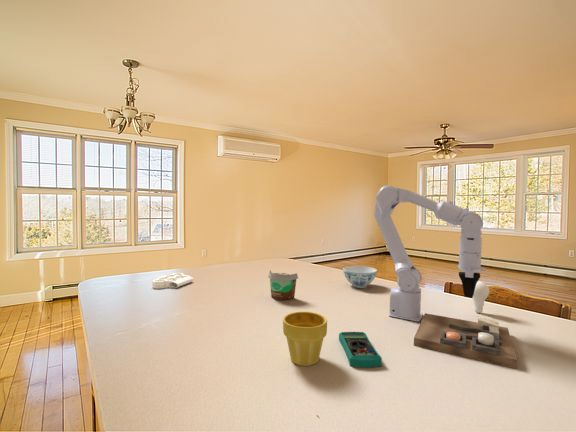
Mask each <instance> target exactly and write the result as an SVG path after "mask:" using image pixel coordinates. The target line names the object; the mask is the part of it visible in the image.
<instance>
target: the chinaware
mask: <svg viewBox="0 0 576 432" xmlns="http://www.w3.org/2000/svg"><path fill="white" fill-rule="evenodd" d="M342 271H343V275H344V277H345V279H346V280H347V281H348V282H349V283H350V284H351V286H352V287H353V288H357V289H362V288H363V289H365V288H367V287H368V285H370V284H371V283H372V282H373V281H374V279H375V278H376V275H377V272H378V270H377V268H374V267H369V266H363V265H350V266H345V267H343V268H342Z"/></svg>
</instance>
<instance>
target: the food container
mask: <svg viewBox="0 0 576 432" xmlns="http://www.w3.org/2000/svg"><path fill="white" fill-rule="evenodd" d="M268 272H269V273H268V276H267V277H268V279H269V285H270V295H271V297H270V298H272V299H273V300H275V301H290V300H293V299H295V294H296V286H297V279H299V276H298V273H297V272H296V273H291V274H288V273H285V272H272V270H269V271H268Z"/></svg>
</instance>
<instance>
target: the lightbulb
mask: <svg viewBox="0 0 576 432" xmlns="http://www.w3.org/2000/svg"><path fill="white" fill-rule="evenodd" d="M489 295H490V287H489V286H488V285H487V284H486V283H485V282H484V281H480V280H478V282H477V284H476V286H475V291H474V295H473V297H472V305H473V311H474V312H475V313H477V314H480V313H482V312H483V309H484V306H485V301H486V299H487V298H488V297H489Z"/></svg>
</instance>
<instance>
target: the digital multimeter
mask: <svg viewBox="0 0 576 432" xmlns="http://www.w3.org/2000/svg"><path fill="white" fill-rule="evenodd" d="M338 341H339V343H340V344H341V346H342V349H343V351H344V354H345V356H346V358H347V361H348V363H349V366H350V367H353V368H364V369H365V368H379V367H382V361H383V360H382V359H383V357H382V356H381V355H380V354H379V353H378V351H377V350H376V349H375V347H374V345H373V344H372V343H371V341H370V340H369V337H368V335H367V334H366V333H365V332H364V331H342V332H339V333H338Z"/></svg>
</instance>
